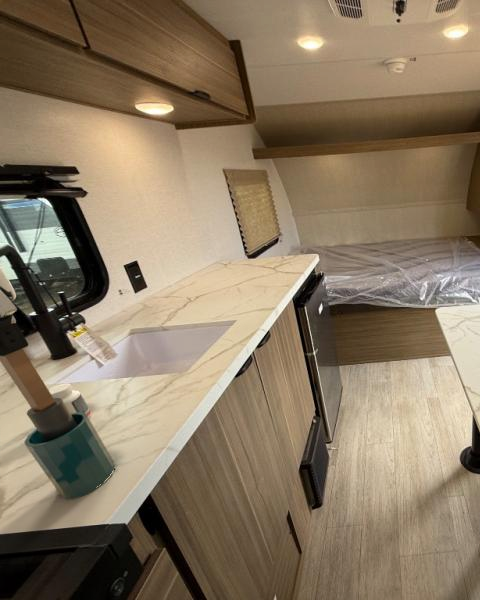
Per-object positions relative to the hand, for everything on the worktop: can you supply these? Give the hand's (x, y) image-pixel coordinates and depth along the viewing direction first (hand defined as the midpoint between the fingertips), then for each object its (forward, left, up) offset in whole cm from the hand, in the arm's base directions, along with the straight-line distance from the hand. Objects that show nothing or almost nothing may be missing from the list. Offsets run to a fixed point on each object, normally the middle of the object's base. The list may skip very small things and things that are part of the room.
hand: (7, 349), depth 47 cm
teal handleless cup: (0, 0, -27) cm, 27 cm away
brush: (0, 0, -17) cm, 17 cm away
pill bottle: (-21, +11, -27) cm, 36 cm away
